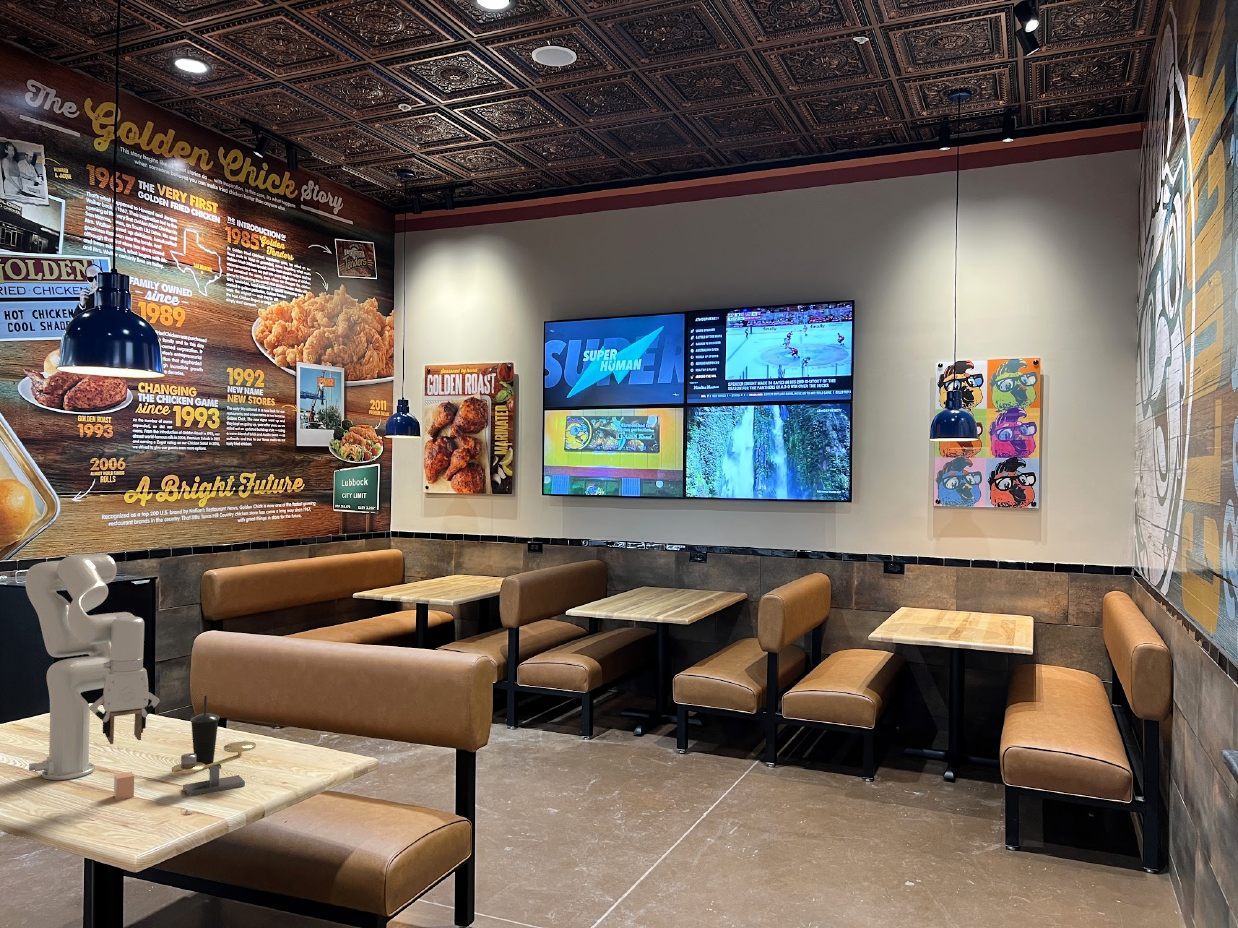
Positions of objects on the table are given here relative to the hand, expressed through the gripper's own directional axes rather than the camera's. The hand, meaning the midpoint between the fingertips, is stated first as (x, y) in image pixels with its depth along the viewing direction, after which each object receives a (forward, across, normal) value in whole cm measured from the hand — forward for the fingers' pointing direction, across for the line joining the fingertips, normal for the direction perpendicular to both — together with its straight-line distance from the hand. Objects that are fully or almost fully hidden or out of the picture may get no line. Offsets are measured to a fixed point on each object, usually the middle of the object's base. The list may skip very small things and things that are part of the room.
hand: (124, 733), depth 235 cm
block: (+16, 0, -1) cm, 16 cm away
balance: (+16, +21, -7) cm, 27 cm away
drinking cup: (+17, +23, +14) cm, 32 cm away
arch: (+1, 0, 0) cm, 1 cm away
